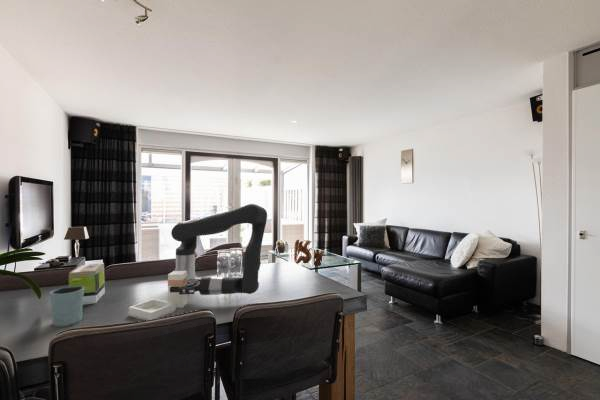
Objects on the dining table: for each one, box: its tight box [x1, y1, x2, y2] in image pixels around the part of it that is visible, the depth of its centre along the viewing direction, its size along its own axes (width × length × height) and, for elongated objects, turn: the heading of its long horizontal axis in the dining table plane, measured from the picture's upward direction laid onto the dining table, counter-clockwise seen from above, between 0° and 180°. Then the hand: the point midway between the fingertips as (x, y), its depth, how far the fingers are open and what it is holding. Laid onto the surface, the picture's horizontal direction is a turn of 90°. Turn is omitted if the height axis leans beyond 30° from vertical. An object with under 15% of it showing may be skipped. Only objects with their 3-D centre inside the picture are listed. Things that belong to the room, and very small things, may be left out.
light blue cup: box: [49, 286, 84, 327], centre depth 110 cm, size 10×10×12 cm
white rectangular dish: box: [128, 298, 176, 321], centre depth 117 cm, size 13×11×4 cm
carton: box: [167, 270, 188, 309], centre depth 127 cm, size 6×6×14 cm
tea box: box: [68, 262, 106, 306], centre depth 134 cm, size 15×10×15 cm
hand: (174, 286), depth 127 cm, fingers open, 8 cm apart
